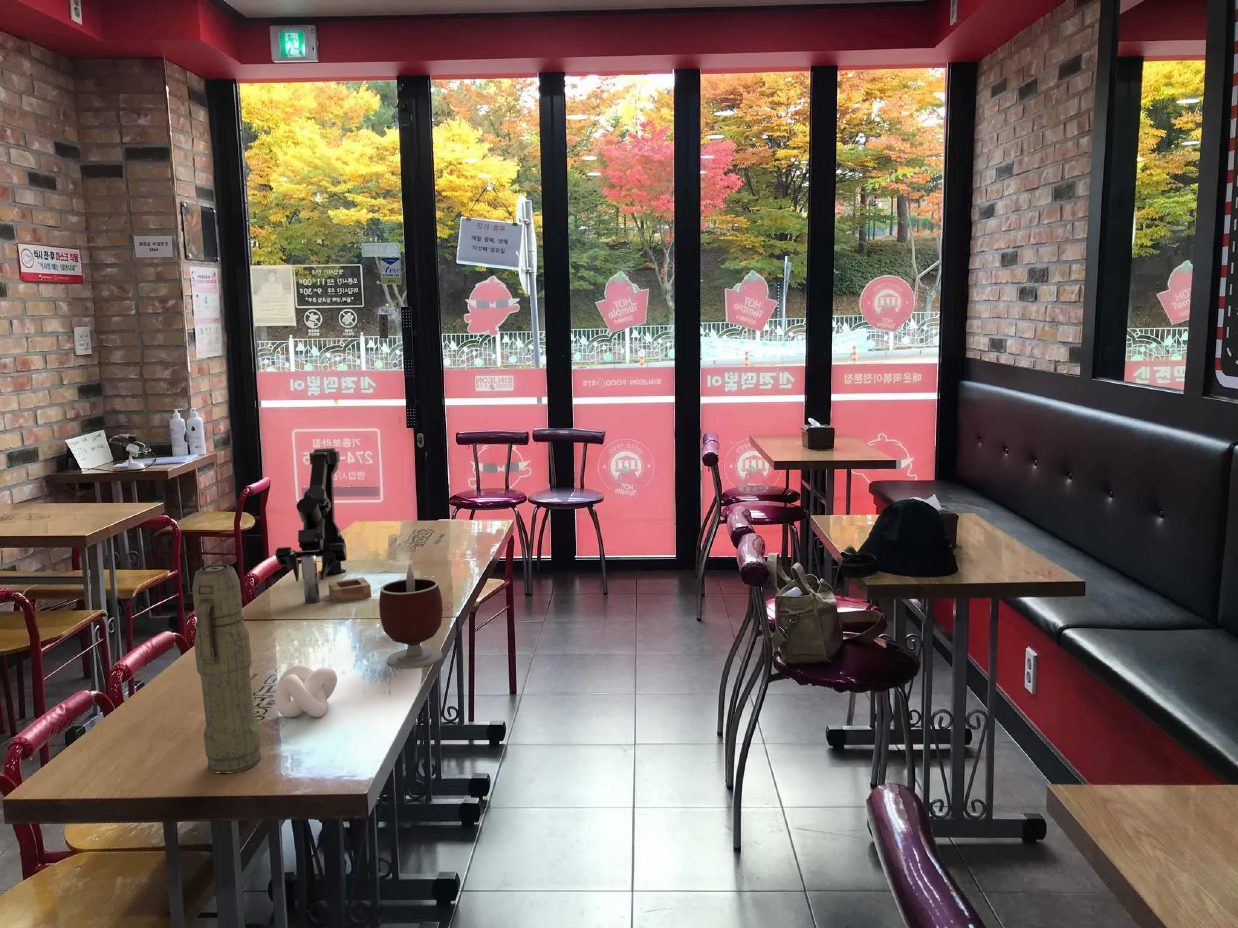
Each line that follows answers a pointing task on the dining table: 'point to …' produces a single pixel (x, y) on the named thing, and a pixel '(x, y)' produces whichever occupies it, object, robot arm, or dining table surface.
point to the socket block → (349, 589)
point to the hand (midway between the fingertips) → (309, 580)
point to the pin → (310, 579)
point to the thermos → (224, 671)
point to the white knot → (304, 690)
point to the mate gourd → (411, 619)
